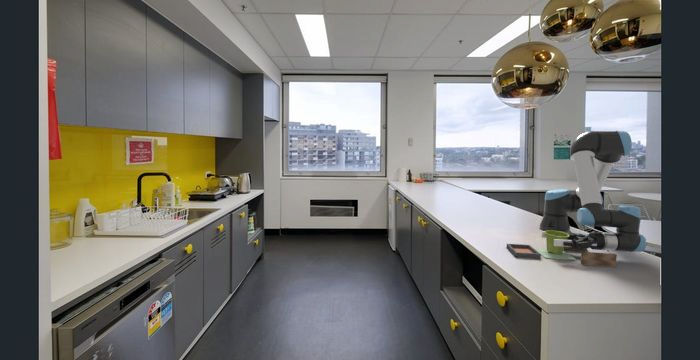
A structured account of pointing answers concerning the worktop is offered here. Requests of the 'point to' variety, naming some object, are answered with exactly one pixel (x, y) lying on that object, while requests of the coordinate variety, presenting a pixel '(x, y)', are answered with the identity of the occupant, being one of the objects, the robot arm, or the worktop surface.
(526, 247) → the tray
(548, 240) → the plant pot
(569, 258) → the pad
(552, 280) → the worktop surface
